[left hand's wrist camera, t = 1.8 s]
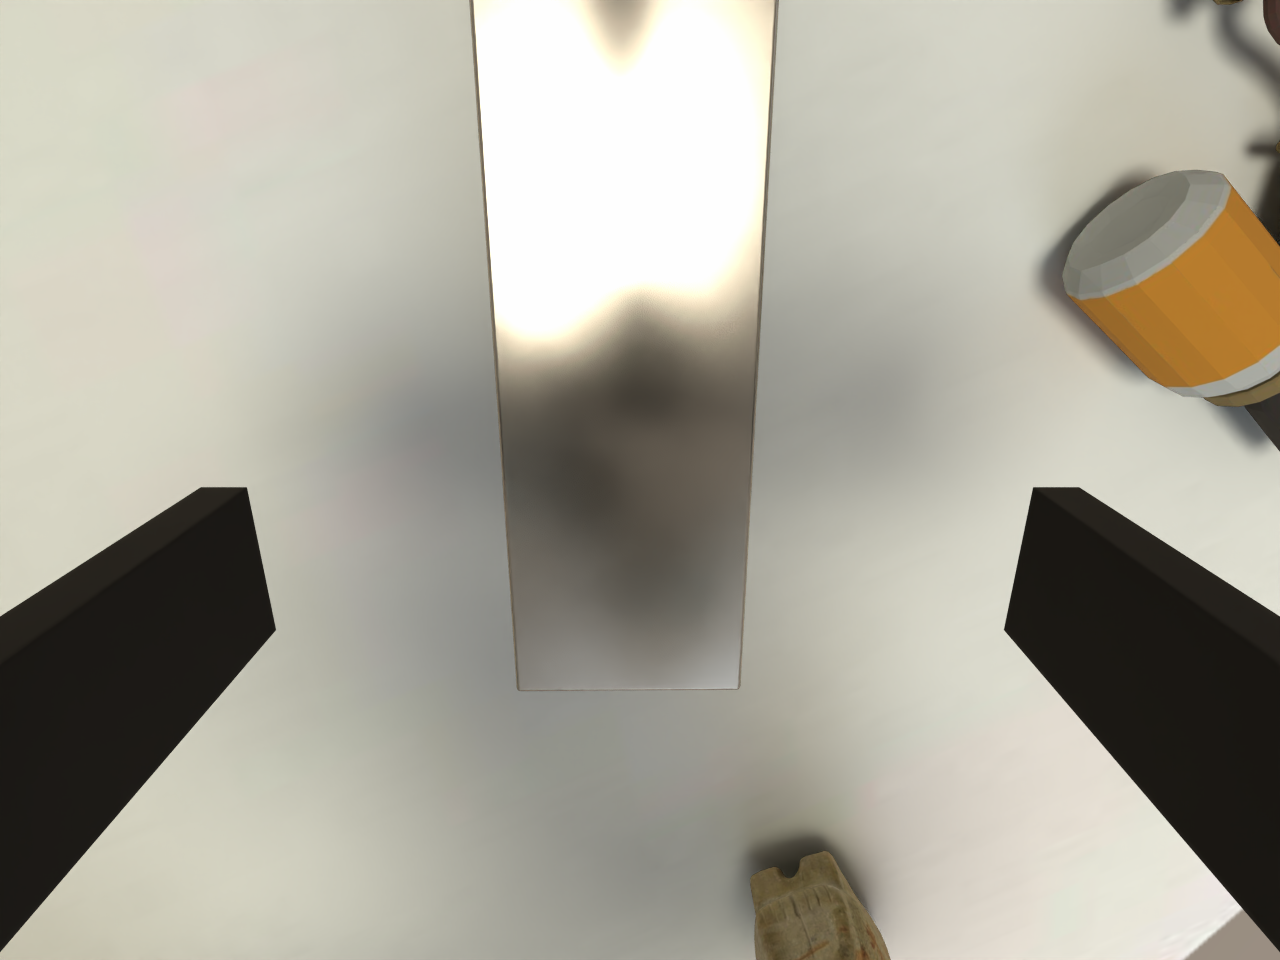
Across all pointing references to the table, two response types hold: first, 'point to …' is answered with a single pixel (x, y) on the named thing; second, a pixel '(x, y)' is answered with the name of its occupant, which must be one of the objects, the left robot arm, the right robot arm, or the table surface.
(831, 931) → the sculpture
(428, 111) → the table surface
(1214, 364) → the spray gun
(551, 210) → the bar
